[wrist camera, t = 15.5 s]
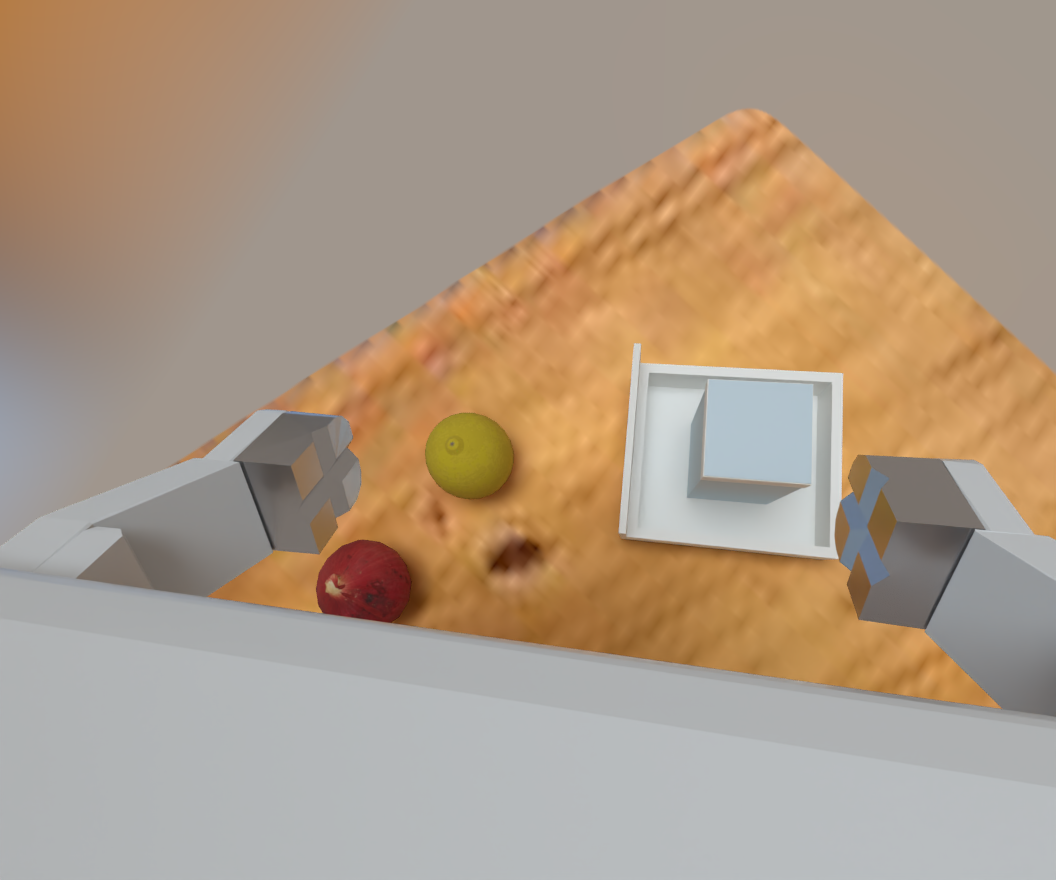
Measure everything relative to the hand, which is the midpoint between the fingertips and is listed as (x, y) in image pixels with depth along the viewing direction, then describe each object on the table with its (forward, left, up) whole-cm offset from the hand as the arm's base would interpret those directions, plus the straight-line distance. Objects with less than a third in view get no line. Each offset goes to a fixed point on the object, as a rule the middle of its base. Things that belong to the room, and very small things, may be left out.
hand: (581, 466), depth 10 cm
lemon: (+4, +10, -32) cm, 33 cm away
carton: (+6, -7, -31) cm, 32 cm away
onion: (-5, +16, -32) cm, 36 cm away
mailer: (+6, -7, -31) cm, 33 cm away
